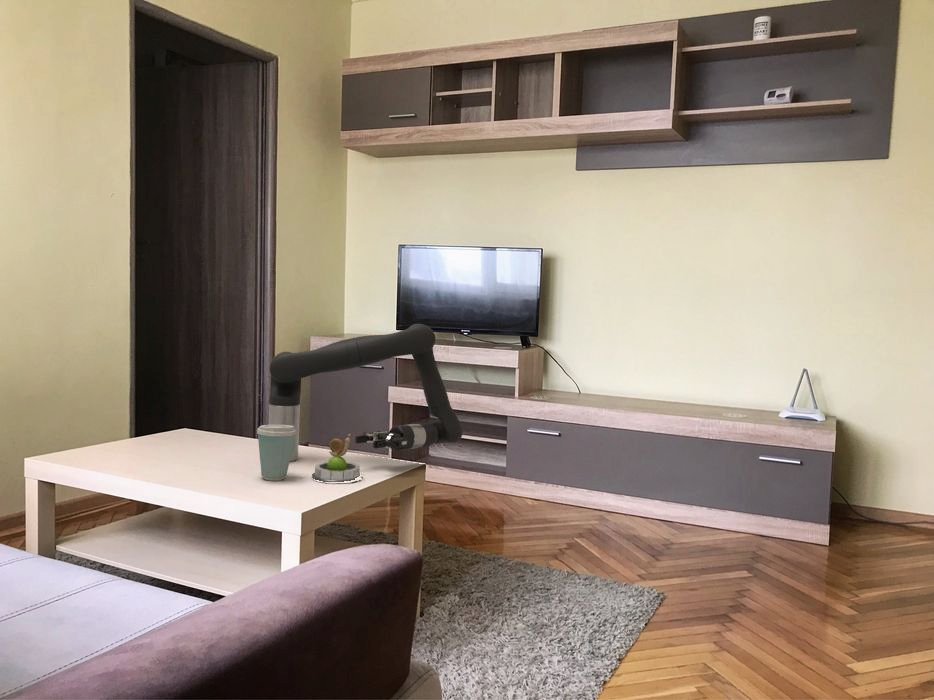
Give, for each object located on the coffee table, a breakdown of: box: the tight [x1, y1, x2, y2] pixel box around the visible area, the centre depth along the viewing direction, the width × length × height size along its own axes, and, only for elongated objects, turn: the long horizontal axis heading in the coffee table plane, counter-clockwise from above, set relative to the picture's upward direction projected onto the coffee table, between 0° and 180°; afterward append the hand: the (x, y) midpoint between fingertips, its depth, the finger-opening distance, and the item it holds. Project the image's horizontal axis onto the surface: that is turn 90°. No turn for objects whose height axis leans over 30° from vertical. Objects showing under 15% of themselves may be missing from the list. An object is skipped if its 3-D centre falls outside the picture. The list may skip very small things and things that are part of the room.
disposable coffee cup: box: [256, 424, 296, 481], centre depth 207 cm, size 11×11×15 cm
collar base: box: [311, 461, 361, 482], centre depth 212 cm, size 14×14×3 cm
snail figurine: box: [327, 433, 351, 471], centre depth 211 cm, size 5×6×12 cm
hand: (364, 442), depth 217 cm, fingers open, 8 cm apart
